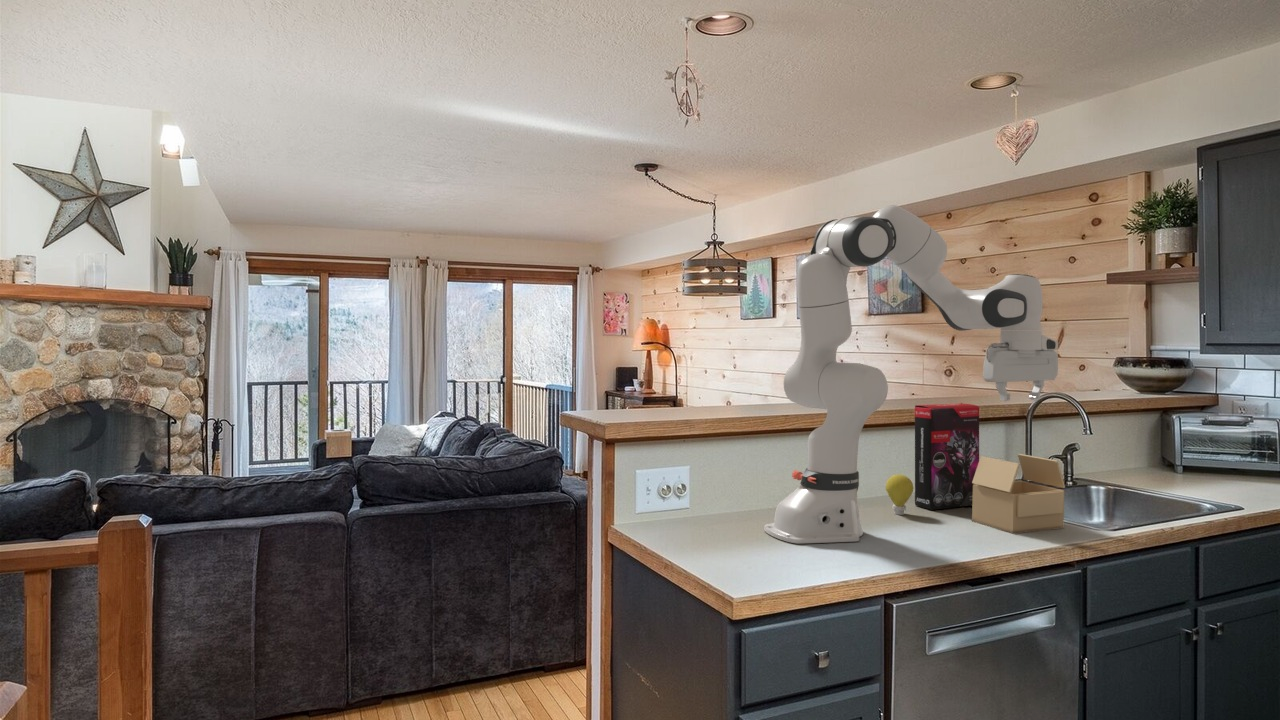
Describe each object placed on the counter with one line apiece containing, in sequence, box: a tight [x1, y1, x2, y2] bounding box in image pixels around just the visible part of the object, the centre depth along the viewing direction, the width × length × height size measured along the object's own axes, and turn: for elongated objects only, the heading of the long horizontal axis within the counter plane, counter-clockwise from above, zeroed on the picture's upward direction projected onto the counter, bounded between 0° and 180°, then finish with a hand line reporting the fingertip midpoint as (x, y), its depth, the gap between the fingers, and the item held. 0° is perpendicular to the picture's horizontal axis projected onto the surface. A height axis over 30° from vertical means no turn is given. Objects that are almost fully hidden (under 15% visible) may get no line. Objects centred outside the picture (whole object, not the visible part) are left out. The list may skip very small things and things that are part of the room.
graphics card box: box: [914, 402, 980, 511], centre depth 194 cm, size 17×7×27 cm, turn 112°
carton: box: [971, 480, 1065, 535], centre depth 176 cm, size 16×13×9 cm
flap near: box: [972, 455, 1021, 493], centre depth 173 cm, size 1×11×7 cm, turn 22°
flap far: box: [1017, 453, 1066, 489], centre depth 178 cm, size 1×11×7 cm, turn 20°
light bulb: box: [885, 473, 915, 516], centre depth 185 cm, size 7×7×10 cm
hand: (1019, 400), depth 175 cm, fingers open, 8 cm apart
